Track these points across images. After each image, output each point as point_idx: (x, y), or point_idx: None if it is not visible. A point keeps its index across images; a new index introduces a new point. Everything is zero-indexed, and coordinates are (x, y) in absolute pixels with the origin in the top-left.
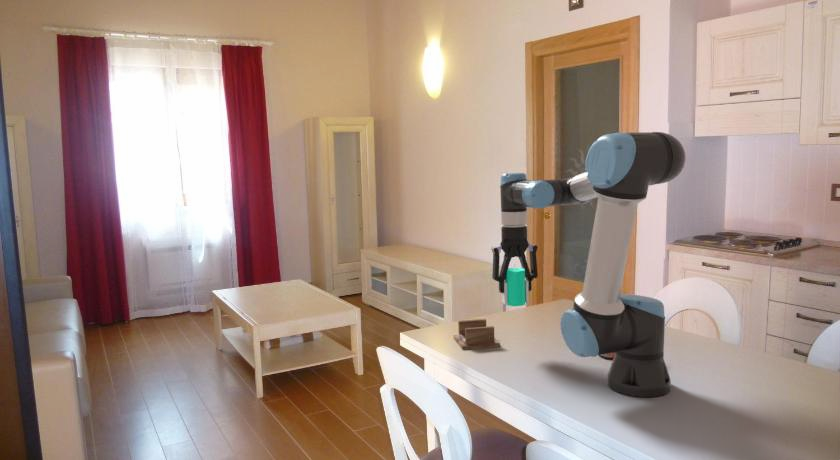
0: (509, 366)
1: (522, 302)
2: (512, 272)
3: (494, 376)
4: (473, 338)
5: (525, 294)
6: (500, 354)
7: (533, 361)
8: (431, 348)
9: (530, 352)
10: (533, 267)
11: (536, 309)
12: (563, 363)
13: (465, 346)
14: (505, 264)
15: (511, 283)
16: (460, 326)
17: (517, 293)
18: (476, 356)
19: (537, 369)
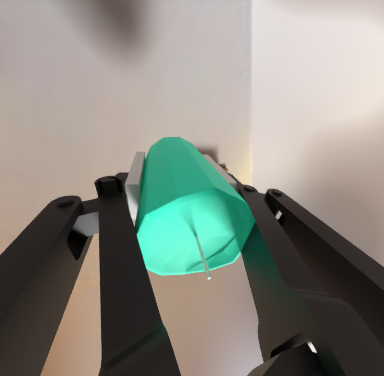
0: (200, 69)
1: (162, 141)
2: (237, 195)
3: (244, 25)
4: None
5: (143, 167)
6: (190, 134)
7: (153, 77)
8: (251, 180)
9: (143, 127)
10: (44, 251)
11: (89, 279)
12: (95, 32)
13: (223, 169)
14: (296, 254)
15: (215, 169)
16: None
17: (184, 146)
18: (223, 137)
19: (160, 21)
